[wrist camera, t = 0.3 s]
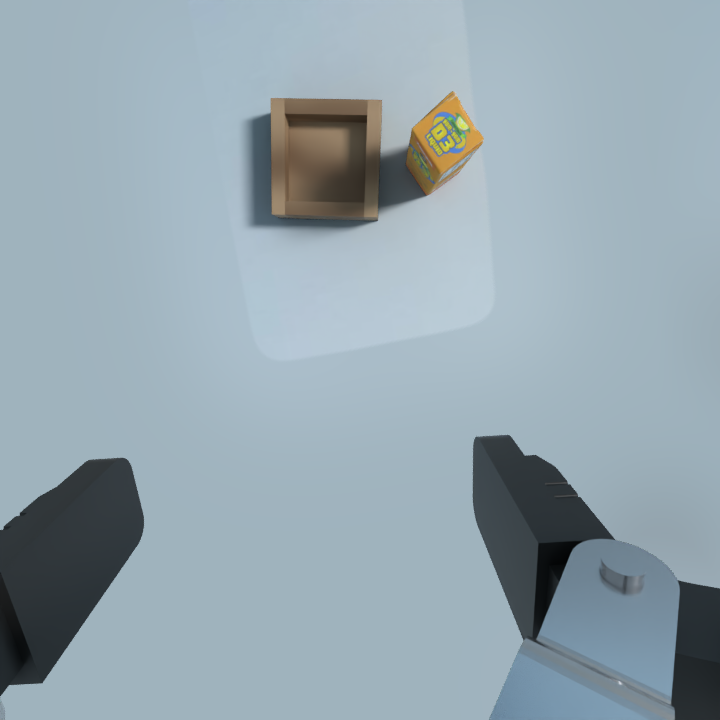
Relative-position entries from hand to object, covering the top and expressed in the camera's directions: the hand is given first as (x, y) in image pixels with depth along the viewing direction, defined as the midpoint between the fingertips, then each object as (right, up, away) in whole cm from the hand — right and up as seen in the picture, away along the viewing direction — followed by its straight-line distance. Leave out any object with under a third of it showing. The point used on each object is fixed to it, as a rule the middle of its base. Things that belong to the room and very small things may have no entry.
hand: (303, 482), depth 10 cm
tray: (-1, +18, +25) cm, 31 cm away
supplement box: (+7, +18, +24) cm, 31 cm away
